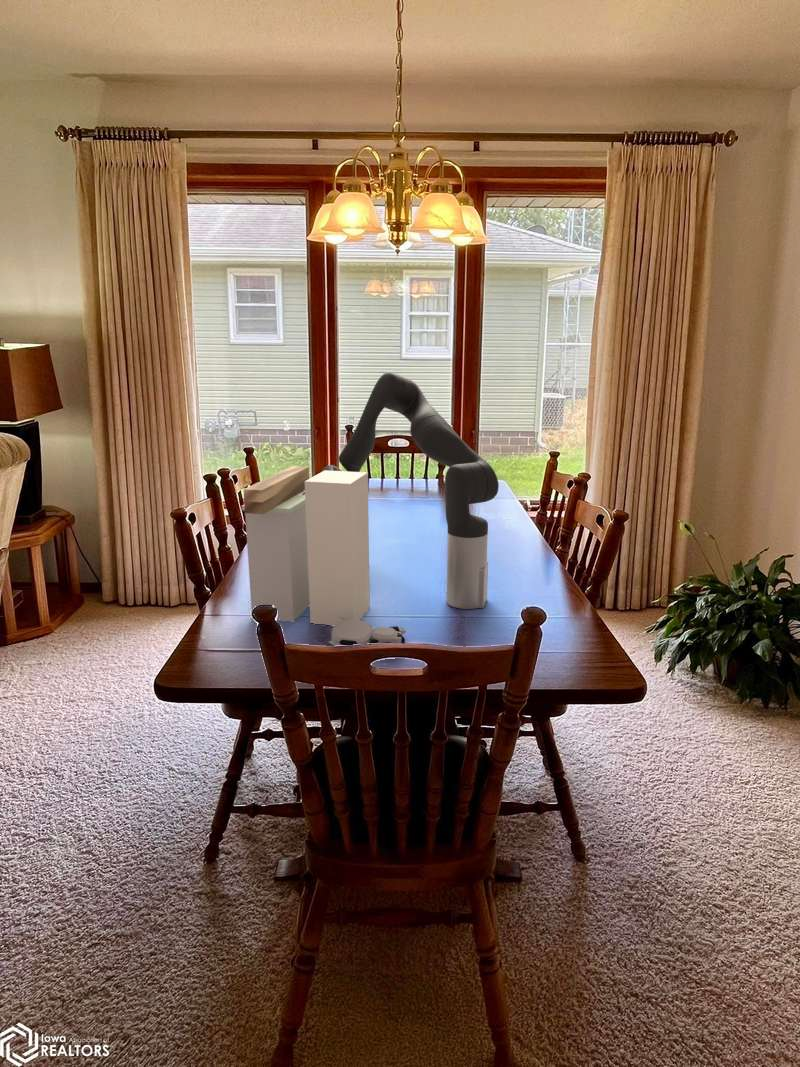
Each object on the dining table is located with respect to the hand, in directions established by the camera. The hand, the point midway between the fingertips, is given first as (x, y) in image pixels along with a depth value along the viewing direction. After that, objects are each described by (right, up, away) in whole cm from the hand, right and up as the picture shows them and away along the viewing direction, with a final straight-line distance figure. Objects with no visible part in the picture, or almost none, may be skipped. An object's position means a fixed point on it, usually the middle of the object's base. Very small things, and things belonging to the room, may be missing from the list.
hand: (316, 502), depth 172 cm
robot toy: (+14, -31, -26) cm, 43 cm away
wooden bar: (-7, 0, -13) cm, 15 cm away
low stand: (-7, -25, -7) cm, 27 cm away
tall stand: (+7, -26, -10) cm, 29 cm away
